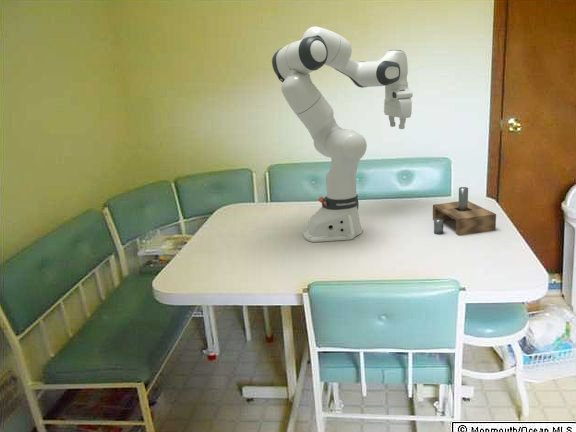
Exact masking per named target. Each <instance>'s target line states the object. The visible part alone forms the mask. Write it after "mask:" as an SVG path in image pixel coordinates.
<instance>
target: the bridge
mask: <svg viewBox="0 0 576 432" xmlns="http://www.w3.org/2000/svg"><path fill="white" fill-rule="evenodd" d="M458 206H459V200H458V201H453V202H452V201H451V202H444V203H435V204H432V220H433V221H434V219H437V218H440V219H443V221H444V220H445V221H446V220H451V219H453V220H454V221H455V234H456V235H457V236H463V235H471V234H476V233H478V234H479V233H486V232H491V231H496V226H497V225H496V223H497V213H494V212H492V211H490V210H489V209H486V208H485V207H482V206H480V205H479V204H476V203H474V202H471V201H469V200H468V211H462V212H460V211H458Z"/></svg>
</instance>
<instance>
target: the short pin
mask: <svg viewBox="0 0 576 432" xmlns="http://www.w3.org/2000/svg"><path fill="white" fill-rule="evenodd" d="M433 233H434V234H435V235H443V234H444V220H443V219H440V218H437V219H434V220H433Z"/></svg>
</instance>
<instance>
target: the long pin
mask: <svg viewBox="0 0 576 432" xmlns="http://www.w3.org/2000/svg"><path fill="white" fill-rule="evenodd" d="M458 201H459V206H458V211H460V212H462V211H468V201H469V187H466V186H461V187H458Z"/></svg>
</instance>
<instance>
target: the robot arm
mask: <svg viewBox="0 0 576 432" xmlns="http://www.w3.org/2000/svg"><path fill="white" fill-rule="evenodd" d="M352 51H353V50H352V45H351V42H350V41H349V40H348V39H347V38H345V37H344V36H342V35H341V34H338V33H337V32H334V31H332V30H331V29H330V30H329V29H327V28H324V27H320V26H316V25H314V26H310V27H309V28H307V29H306V30H305V31H304V33H303V35H302V38H301V39H300V40H296V41H293V42H289V43H287V45H284V46H283V47H280V48H279V49H277V51H275V53H273V56H272V59H271V65H272V70H273V71H274V73H275V75H276V77H277V78H278V80H279V81H280V82H281V83H282V84H281V93H282V95H283V97H284V98H285V101H286V102H287V104H288V105H289V107H290V109H291V110H292V111H293V113H294V114H295V115H296V117H297V118H298V119H299V121H301V123H302V124H303V125H304V127H305V128H306V129H307V130H308V133H309V134H310V136H311V138H312V140H313V146H314V149H315V150H316V152H318V153H320V154H321V155H322V156H324V157H326V158H327V157H328V158H330V159H331V162H330V168H329V171H328V172H327V174H326V175H325V186H326V187H325V188H326V196H325V197H323V196H319V198H318V202H320V204H321V207H320V208H319V209H318V210H317V211H315V213H313V214H312V215H311V216H310V217H309V219H308V227H307V228H304V229H303V230H302V237H303V238H304V239H305V240H306V241H309V242H312V243H319V242H321V243H322V242H335V241H349V240H354V239H355V237H357V236H359V235H361V234H362V233H363V228H362V225H361V222H360V217H359V195H358V194H357V172H358V169H359V168H358V167H359V164H360V160H361V159H362V158H363V157H364V156H365V154H366V151H367V147H368V146H367V140H366V138H365V137H364V135H362V134H360V132H358V131H355V130H353V129H346V128H342V127H341V126H340V125H339V124H338V123H337V122H336V119H335V117H334V115H335V114H334V109H333V107H332V106H331V104H329V102H328V101H327V99H326V98H325V96H324V95H323V94H322V93H321V91H320V90H319V89H318V88H317V86H316V85H315V84H314V83H313V81H312V79H311V75H310V73H312V72H314V71H317V70H319V69H321V68H322V67H324V66H327V67H330V68H332V69H334V70H335V71H338V72H339V73H341V74H343V75H345V76H346V77H348V78H349V79H350V80H351V81H352V82H353V84H354V85H355V86H357V87H358V88H360V89H362V88H368V87H369V88H370V87H384V90H385V91H384V93H385V95H384V96H385V98H384V102H383V104H384V105H383V113H384V115H385V116H388V120H389V127H391V128H394V127H396V121H395V118H399V124H398V129H399V130H404V129H405V125H406V121H407V119H409V118H411V116H412V108H413V105H412V103H413V101H412V98H413V93H414V92H413V91H412V90H411V89H410V88H409V82H408V71H409V70H408V68H409V67H408V57H407V54H406V52H405V51H404V50H399V49H390V50H386V52H385V54H384V55H383V56H382V57H381V58H379V59H378V60H369V61H364V60H363V61H355V60H354V59H352V58H351V56H352V53H353V52H352Z"/></svg>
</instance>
